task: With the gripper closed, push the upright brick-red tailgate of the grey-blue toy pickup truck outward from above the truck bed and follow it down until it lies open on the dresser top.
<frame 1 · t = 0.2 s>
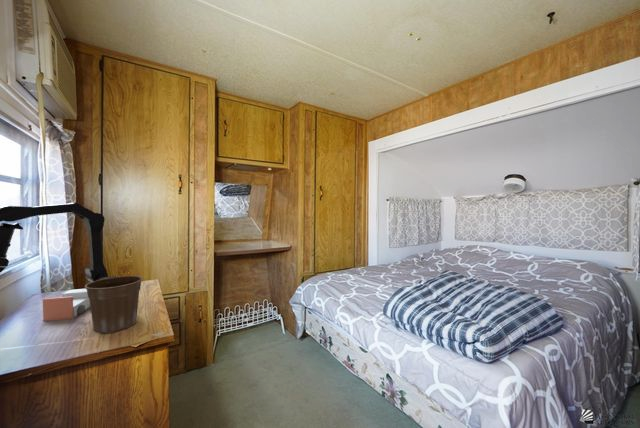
deodorant: (109, 317, 102), on the table
plant pot: (115, 326, 94), on the table
truck: (73, 311, 107), on the table
tailgate: (58, 308, 98), point 4 cm above the table, hinge at 0.0°
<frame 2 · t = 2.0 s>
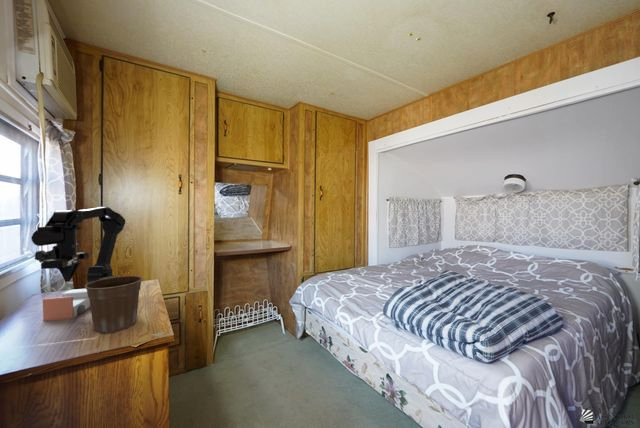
hand: (67, 281, 103), 13 cm above the table, tool pointing down, fingers closed
nothing on the table moved.
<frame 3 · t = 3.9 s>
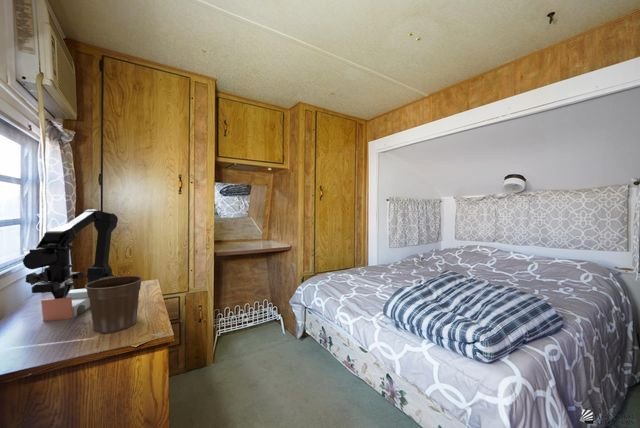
hand: (60, 304, 99), 6 cm above the table, tool pointing down, fingers closed
tailgate: (57, 309, 98), point 4 cm above the table, hinge at 6.5°, touching gripper
everything else where it was.
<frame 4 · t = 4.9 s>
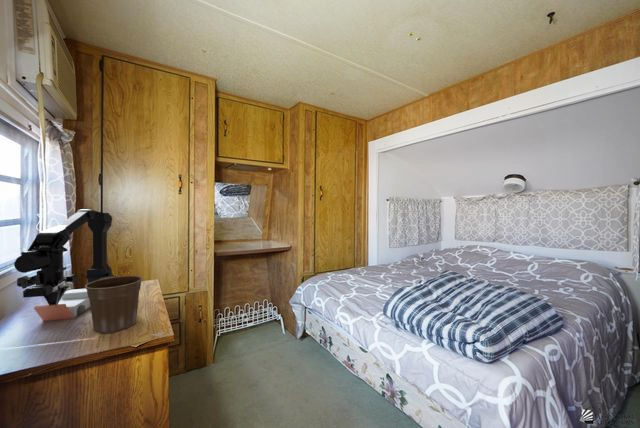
hand: (53, 308, 96), 6 cm above the table, tool pointing down, fingers closed
tailgate: (54, 312, 96), point 4 cm above the table, hinge at 34.7°, touching gripper
everything else where it was.
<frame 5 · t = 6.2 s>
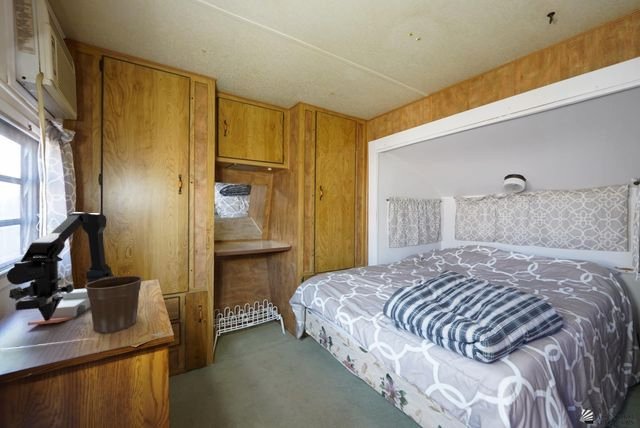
hand: (47, 320, 93), 2 cm above the table, tool pointing down, fingers closed
tailgate: (51, 320, 95), point 1 cm above the table, hinge at 75.6°, touching gripper
everything else where it was.
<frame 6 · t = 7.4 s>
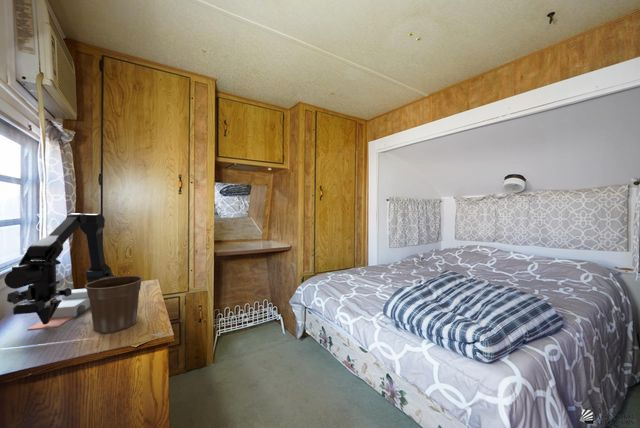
hand: (45, 323, 92), 2 cm above the table, tool pointing down, fingers closed
tailgate: (51, 323, 95), on the table, hinge at 90.3°
everything else where it was.
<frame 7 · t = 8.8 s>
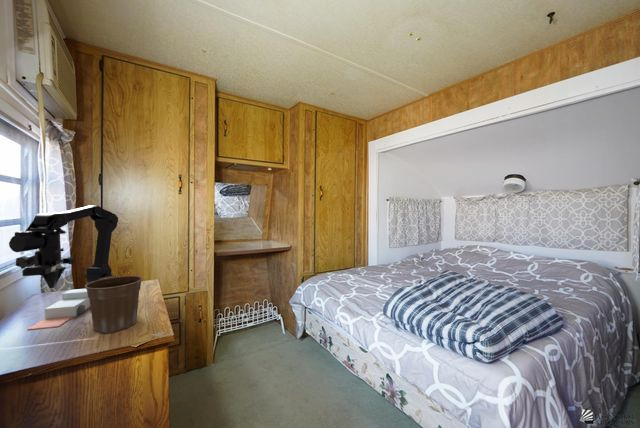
hand: (52, 288, 99), 12 cm above the table, tool pointing down, fingers closed
nothing on the table moved.
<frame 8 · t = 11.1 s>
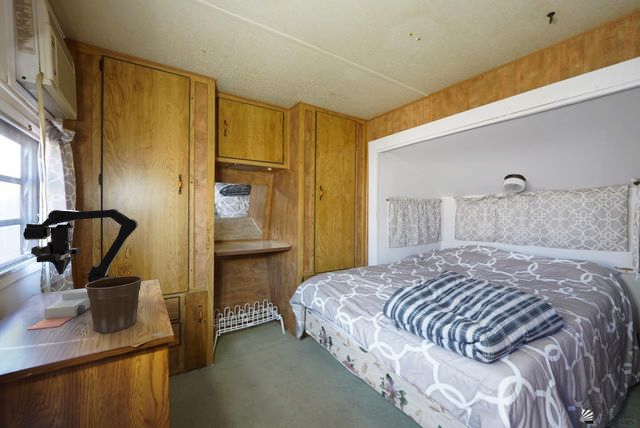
hand: (60, 274, 114), 13 cm above the table, tool pointing down, fingers closed
nothing on the table moved.
at the end: tailgate at +90° (first picture: +0°); tailgate touching nothing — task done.
